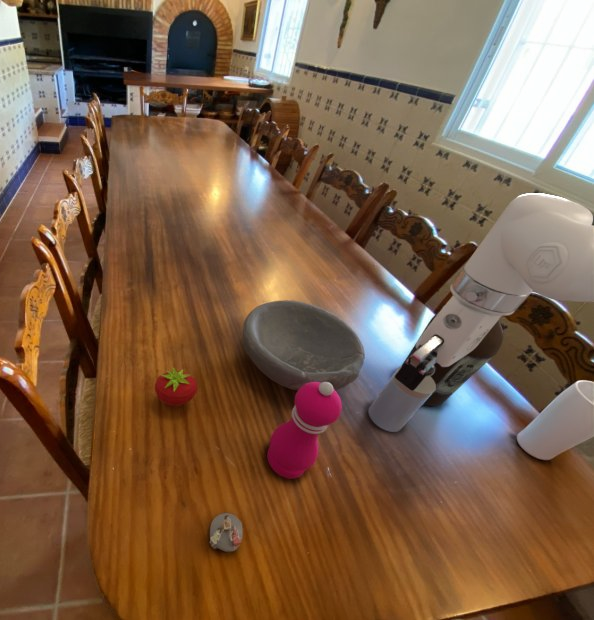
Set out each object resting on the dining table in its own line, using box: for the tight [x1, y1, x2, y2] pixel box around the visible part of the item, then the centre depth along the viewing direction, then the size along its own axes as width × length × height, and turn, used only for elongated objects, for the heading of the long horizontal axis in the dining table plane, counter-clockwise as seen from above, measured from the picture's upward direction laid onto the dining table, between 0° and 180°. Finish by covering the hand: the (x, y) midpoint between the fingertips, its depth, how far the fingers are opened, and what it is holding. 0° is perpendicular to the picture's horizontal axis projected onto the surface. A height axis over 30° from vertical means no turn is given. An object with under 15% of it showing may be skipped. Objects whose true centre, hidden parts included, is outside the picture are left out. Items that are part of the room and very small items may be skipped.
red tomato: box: [154, 366, 198, 407], centre depth 63 cm, size 6×8×10 cm
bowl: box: [242, 299, 366, 391], centre depth 72 cm, size 23×22×10 cm
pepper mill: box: [266, 382, 343, 480], centre depth 53 cm, size 7×7×20 cm
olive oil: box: [401, 312, 504, 407], centre depth 65 cm, size 11×11×25 cm
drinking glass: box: [516, 379, 594, 461], centre depth 60 cm, size 7×7×15 cm
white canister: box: [367, 359, 436, 433], centre depth 62 cm, size 6×6×16 cm
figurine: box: [209, 512, 243, 553], centre depth 48 cm, size 5×4×6 cm
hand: (421, 372), depth 59 cm, fingers open, 9 cm apart
